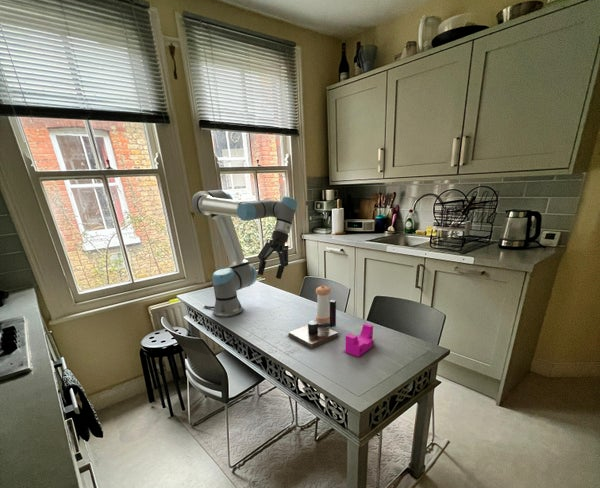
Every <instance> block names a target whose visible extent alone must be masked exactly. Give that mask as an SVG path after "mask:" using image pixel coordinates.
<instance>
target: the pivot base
mask: <svg viewBox="0 0 600 488" xmlns="http://www.w3.org/2000/svg"><path fill="white" fill-rule="evenodd" d="M338 336H339V332H338V331H335V330H334V329H331V328H330V327H320V328H318V333H317V334H309V333H308V324H306V325H303V326H301V327H299V328H296V329H293V330H291V331H288V337H289V338H290V339H292V340H295V341H297V342H299V343H300V344H302V345H304V346H306V347H308V348H309V349H314V348H316V347H317V346H320V345H322V344H325V343H327V342H329V341H331V340H333V339H335V338H338Z"/></svg>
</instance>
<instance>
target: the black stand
mask: <svg viewBox="0 0 600 488" xmlns="http://www.w3.org/2000/svg"><path fill="white" fill-rule="evenodd" d="M329 306H330V323H318V322H317V321H316V320H309V321H308V322H307V325H308V333H309V334H317V333H318V328H320V327H327V328H336V327H337V300H336V299H329Z"/></svg>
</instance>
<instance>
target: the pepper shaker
mask: <svg viewBox="0 0 600 488" xmlns="http://www.w3.org/2000/svg"><path fill="white" fill-rule="evenodd" d="M330 293H331V289H330V287H329V286H326V285H323V284H322V285H321V286H318V287H317V288H316V289H315V294H316V296H317V299H316V300H317V301H316V302H317V303H316V316H315V321H317V322H318V323H330V302H329V301H330V296H329V295H330Z"/></svg>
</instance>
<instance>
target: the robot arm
mask: <svg viewBox="0 0 600 488" xmlns="http://www.w3.org/2000/svg"><path fill="white" fill-rule="evenodd" d="M297 206H298V201H297V200H296V199H295V198H293V197H290V196H286V195H283V196H282V197H281V199H280V200H276V199H270V198H261V199H260V200H256V201H245V200H236V199H234V198H233V197H232V195H231V193H229V191H227V190H226V189H225V190H224V189H213V190H212V189H211V190H200V191H198V192H196V193H194V195H193V196H192V197H191V207H192V209H193V210H194V212H195V213H197V214H198V215H203V216H211V219H212V220H213V221H215V223H216V225H217V229H218V232H219V235H220V237H221V241H222V243H223V246H224V249H225V252H226V255H227V257H228V261H229V263H230V264H229V266H228V267H226V268H220V269H218V270H216V271H214V272H213V273H212V276H211V278H212V279H211V280H212V281H211V283H212V285H213V292H214V299H215V302H214V305H213V306H211V305H209V306H208V305H204V306H203V307H204V308H206V309H213V313H214V315H215V316H217V317H222V318H228V317H233V316H236V315H238V314H240V313H242V311H243V307H242V304H241V301H240V300H239V298H238V294H237V293H238V291H240V290H243V289H244V288H247V287H248V288H249V287H251V286H252V285H254V284H255V283H256V281H257V278H258V275H259V276H264V272H265V269H266V265H267V261H266V260H267V259H268V258H269V257H270V256H271V255H272V254H273V253H277V255H278V259H279V264H278V268H277V271H276V275H275V278H276V279H279V280H281V279H282V276H283V273H284V269H285V267H287V266H289V247H290V246H289V245H288V244H286V243H288V240H289V236H290V235H289V234H290V232H291V230H292V229H291V228H292V225H293V222H294V218H295V214H296V211H297ZM233 218H238V219H240V220H241V221H243V222H251V221H254V220H259V219H265V218H275V222H274V226H273V230H272V234H271V238H267V239H266V242H265V243H264V245H263V246H262V248H261V250H260V251H259V253H258V255H257V258H258V260H259V264H258V269H256V267H254V265H253V264H250V261H249V260H247V259H246V258H245V255H244V253H243V252H244V251H243V249H242V246H241V241H240V240H239V237H238V234H237V231H236V227H235V224H234V222H233ZM257 270H258V271H257Z"/></svg>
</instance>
